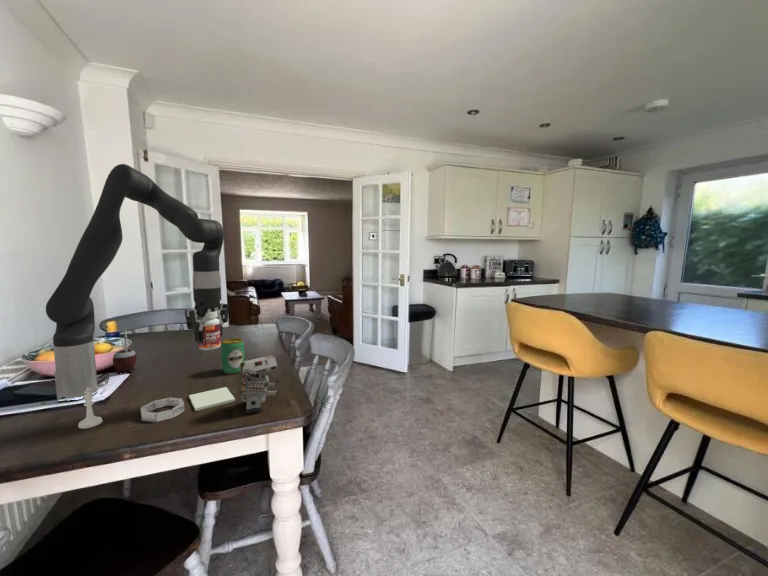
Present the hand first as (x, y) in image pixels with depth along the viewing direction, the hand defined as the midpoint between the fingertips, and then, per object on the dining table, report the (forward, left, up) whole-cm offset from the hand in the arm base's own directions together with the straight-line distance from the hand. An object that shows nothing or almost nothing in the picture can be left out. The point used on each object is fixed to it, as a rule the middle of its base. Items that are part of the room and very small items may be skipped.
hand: (209, 339), depth 103 cm
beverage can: (+12, +22, -20) cm, 32 cm away
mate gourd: (-21, +44, -20) cm, 52 cm away
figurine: (+11, -13, -20) cm, 26 cm away
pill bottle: (0, 0, -3) cm, 3 cm away
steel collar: (-13, -1, -19) cm, 23 cm away
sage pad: (0, 0, -19) cm, 19 cm away
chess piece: (-29, +3, -20) cm, 35 cm away
